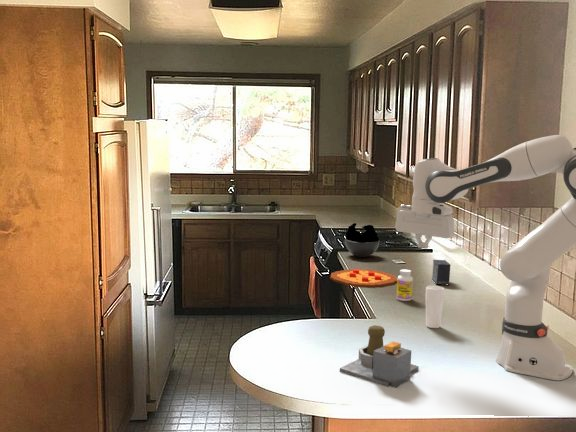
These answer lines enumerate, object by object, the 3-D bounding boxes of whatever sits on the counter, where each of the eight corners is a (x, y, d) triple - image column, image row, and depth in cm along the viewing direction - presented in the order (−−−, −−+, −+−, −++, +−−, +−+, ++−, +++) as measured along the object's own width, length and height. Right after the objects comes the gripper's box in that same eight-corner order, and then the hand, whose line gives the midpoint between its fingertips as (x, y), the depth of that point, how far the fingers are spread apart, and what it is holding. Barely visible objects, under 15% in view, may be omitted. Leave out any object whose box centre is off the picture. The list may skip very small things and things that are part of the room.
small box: (450, 285, 299) (451, 264, 298) (436, 285, 299) (437, 264, 298) (444, 280, 310) (445, 259, 308) (431, 280, 310) (432, 259, 308)
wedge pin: (399, 374, 186) (401, 343, 185) (391, 378, 182) (393, 347, 181) (391, 371, 188) (392, 341, 187) (382, 375, 184) (384, 345, 183)
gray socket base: (424, 371, 193) (425, 342, 192) (394, 388, 179) (395, 358, 178) (370, 355, 205) (371, 328, 204) (338, 370, 191) (339, 342, 190)
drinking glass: (427, 322, 241) (429, 284, 239) (444, 325, 238) (446, 287, 236) (421, 327, 235) (423, 288, 233) (438, 330, 232) (441, 291, 230)
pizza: (395, 273, 323) (395, 268, 322) (397, 289, 291) (398, 283, 291) (332, 270, 327) (332, 265, 326) (328, 285, 295) (329, 279, 295)
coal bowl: (384, 260, 354) (385, 227, 351) (350, 260, 350) (351, 227, 347) (372, 252, 373) (373, 221, 371) (339, 253, 369) (340, 222, 366)
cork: (371, 355, 203) (373, 322, 201) (388, 359, 199) (389, 326, 197) (361, 360, 198) (363, 326, 196) (378, 365, 194) (380, 330, 193)
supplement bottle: (395, 300, 271) (397, 271, 269) (396, 296, 277) (398, 268, 276) (411, 302, 269) (413, 272, 268) (412, 298, 276) (413, 269, 274)
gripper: (392, 204, 213) (391, 244, 215) (449, 211, 200) (446, 253, 202) (402, 203, 217) (400, 242, 219) (457, 209, 204) (455, 251, 206)
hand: (422, 248), depth 210 cm, fingers closed
